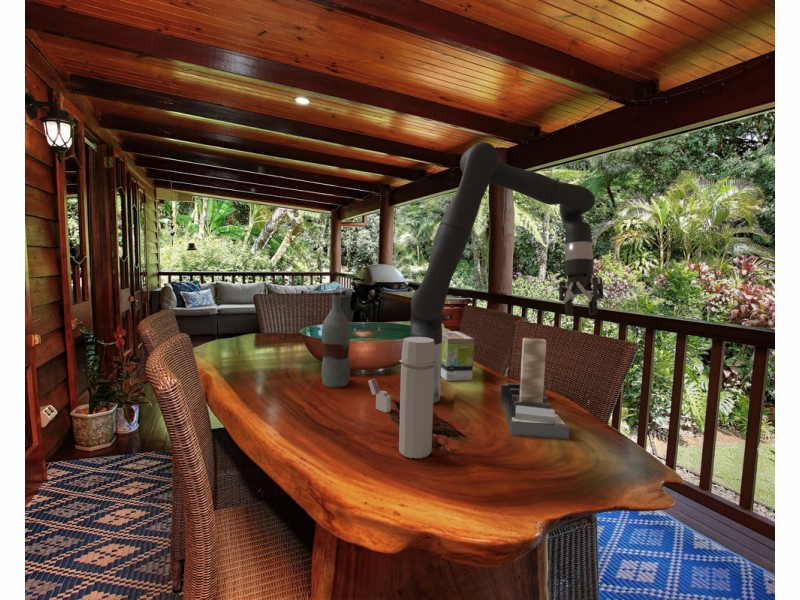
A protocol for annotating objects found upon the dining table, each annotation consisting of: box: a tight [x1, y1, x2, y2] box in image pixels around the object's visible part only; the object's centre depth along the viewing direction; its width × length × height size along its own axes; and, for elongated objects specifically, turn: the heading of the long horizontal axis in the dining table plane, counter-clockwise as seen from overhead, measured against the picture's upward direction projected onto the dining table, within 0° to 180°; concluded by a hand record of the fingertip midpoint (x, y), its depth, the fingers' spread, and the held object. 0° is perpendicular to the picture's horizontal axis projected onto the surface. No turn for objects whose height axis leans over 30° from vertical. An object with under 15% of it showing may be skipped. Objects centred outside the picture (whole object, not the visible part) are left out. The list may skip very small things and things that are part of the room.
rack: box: [499, 382, 570, 440], centre depth 120 cm, size 13×31×6 cm, turn 172°
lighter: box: [367, 378, 392, 414], centre depth 125 cm, size 7×2×8 cm, turn 51°
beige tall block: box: [519, 337, 547, 403], centre depth 119 cm, size 6×3×20 cm, turn 82°
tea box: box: [441, 330, 475, 382], centre depth 161 cm, size 15×10×15 cm, turn 13°
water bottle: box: [398, 336, 437, 460], centre depth 98 cm, size 9×8×25 cm
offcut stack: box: [512, 405, 566, 425], centre depth 109 cm, size 11×7×4 cm, turn 82°
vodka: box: [320, 291, 351, 388], centre depth 146 cm, size 9×9×30 cm
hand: (580, 315), depth 130 cm, fingers open, 8 cm apart
